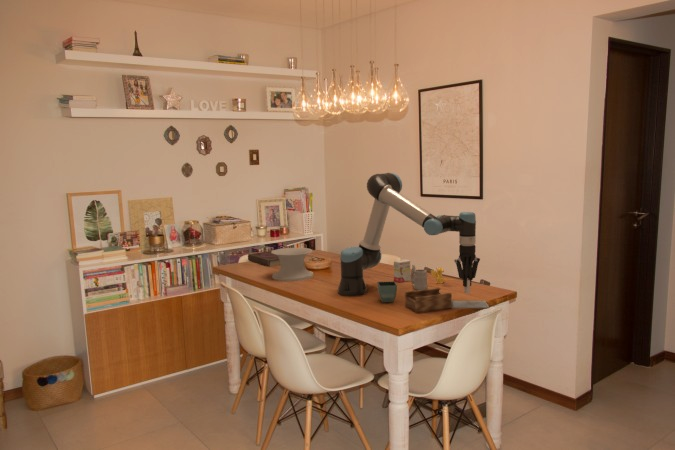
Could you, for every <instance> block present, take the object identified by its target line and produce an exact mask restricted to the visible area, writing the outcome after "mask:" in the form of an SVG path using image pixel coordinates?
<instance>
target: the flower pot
mask: <svg viewBox="0 0 675 450" xmlns="http://www.w3.org/2000/svg"><path fill="white" fill-rule="evenodd" d="M376 284H377V290H378V291H377V293H378V296H379V298H380V300H381V302H382V303H393V302H394V300H395V299H396V295H397V291H398V285H397V282H396V281H377V283H376Z"/></svg>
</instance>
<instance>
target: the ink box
mask: <svg viewBox="0 0 675 450" xmlns="http://www.w3.org/2000/svg"><path fill="white" fill-rule="evenodd" d="M410 281H411V260H409V259H406V258H405V259H398V260H394V261H393V282H395V283H405V282H410Z"/></svg>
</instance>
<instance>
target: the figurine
mask: <svg viewBox="0 0 675 450" xmlns="http://www.w3.org/2000/svg"><path fill="white" fill-rule="evenodd" d="M435 269H436V270H433V269H431V270H430V274H431V276H432V277H433V278H435V279H436V281H435V284H443V283H444V281H446V280H448V281H449V280H450V281H451V280H453V281H454V279H452V278H443V273H444V272H445V270H444V268H443V267H442V266H441V267H438V266H435Z"/></svg>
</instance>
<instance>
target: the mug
mask: <svg viewBox="0 0 675 450" xmlns="http://www.w3.org/2000/svg"><path fill="white" fill-rule="evenodd" d="M427 272H428V271H427V269H420V268H419V269H416V265H415V264H412V267H411V270H410V281H411V284H412V285H413V289H414V290H415V291H416V290H425V289H428V286H429V285H428V275H427Z"/></svg>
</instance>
